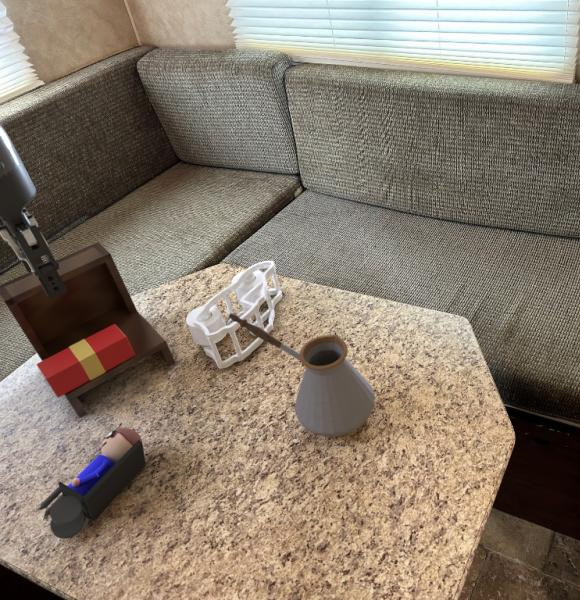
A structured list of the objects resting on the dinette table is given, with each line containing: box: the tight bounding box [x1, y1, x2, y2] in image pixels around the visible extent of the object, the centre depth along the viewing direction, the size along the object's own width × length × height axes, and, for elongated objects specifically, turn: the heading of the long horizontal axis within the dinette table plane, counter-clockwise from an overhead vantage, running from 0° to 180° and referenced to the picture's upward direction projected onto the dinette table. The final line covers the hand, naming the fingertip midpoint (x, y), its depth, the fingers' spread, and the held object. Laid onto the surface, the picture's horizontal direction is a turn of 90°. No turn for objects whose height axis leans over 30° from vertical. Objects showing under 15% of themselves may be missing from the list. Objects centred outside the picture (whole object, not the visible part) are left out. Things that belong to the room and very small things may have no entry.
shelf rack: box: [0, 241, 176, 419], centre depth 95 cm, size 16×16×17 cm
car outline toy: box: [185, 259, 283, 370], centre depth 103 cm, size 20×11×7 cm, turn 150°
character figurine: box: [39, 427, 147, 540], centre depth 78 cm, size 8×7×15 cm
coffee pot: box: [225, 311, 376, 438], centre depth 85 cm, size 21×12×15 cm, turn 64°
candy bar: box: [36, 324, 135, 399], centre depth 92 cm, size 12×5×4 cm, turn 133°
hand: (47, 281), depth 78 cm, fingers open, 8 cm apart
